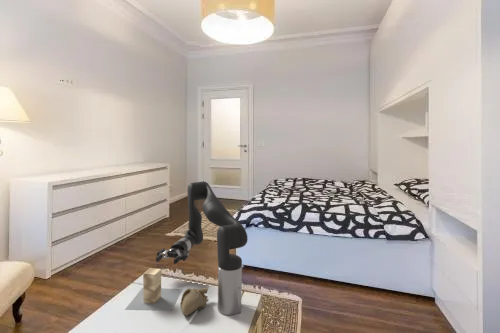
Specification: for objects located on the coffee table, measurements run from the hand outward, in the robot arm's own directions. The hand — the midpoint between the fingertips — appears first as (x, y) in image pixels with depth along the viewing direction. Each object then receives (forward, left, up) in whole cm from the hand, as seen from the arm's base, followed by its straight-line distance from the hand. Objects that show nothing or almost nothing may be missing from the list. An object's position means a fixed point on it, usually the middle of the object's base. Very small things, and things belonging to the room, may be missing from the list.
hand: (165, 260), depth 119 cm
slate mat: (+1, +10, -12) cm, 16 cm away
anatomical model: (-16, +16, -12) cm, 26 cm away
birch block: (+2, +11, -12) cm, 16 cm away
